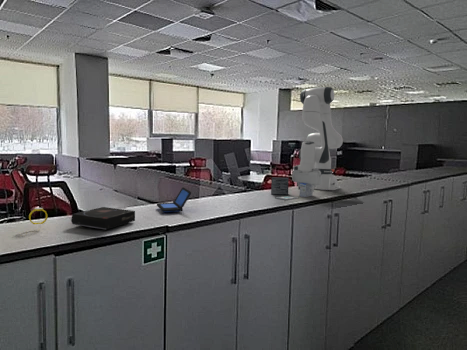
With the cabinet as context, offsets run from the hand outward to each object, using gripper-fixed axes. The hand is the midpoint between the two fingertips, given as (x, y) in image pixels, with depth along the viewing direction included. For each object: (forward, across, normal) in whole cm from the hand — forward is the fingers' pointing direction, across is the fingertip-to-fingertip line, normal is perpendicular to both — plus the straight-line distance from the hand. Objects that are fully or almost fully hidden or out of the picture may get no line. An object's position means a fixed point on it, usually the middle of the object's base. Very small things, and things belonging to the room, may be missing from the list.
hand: (305, 190), depth 218 cm
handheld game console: (+4, +9, +87) cm, 87 cm away
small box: (+4, +14, +8) cm, 17 cm away
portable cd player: (+5, 0, +123) cm, 123 cm away
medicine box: (+4, 0, 0) cm, 4 cm away
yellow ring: (+5, +8, +144) cm, 145 cm away
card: (+4, +1, +16) cm, 16 cm away
